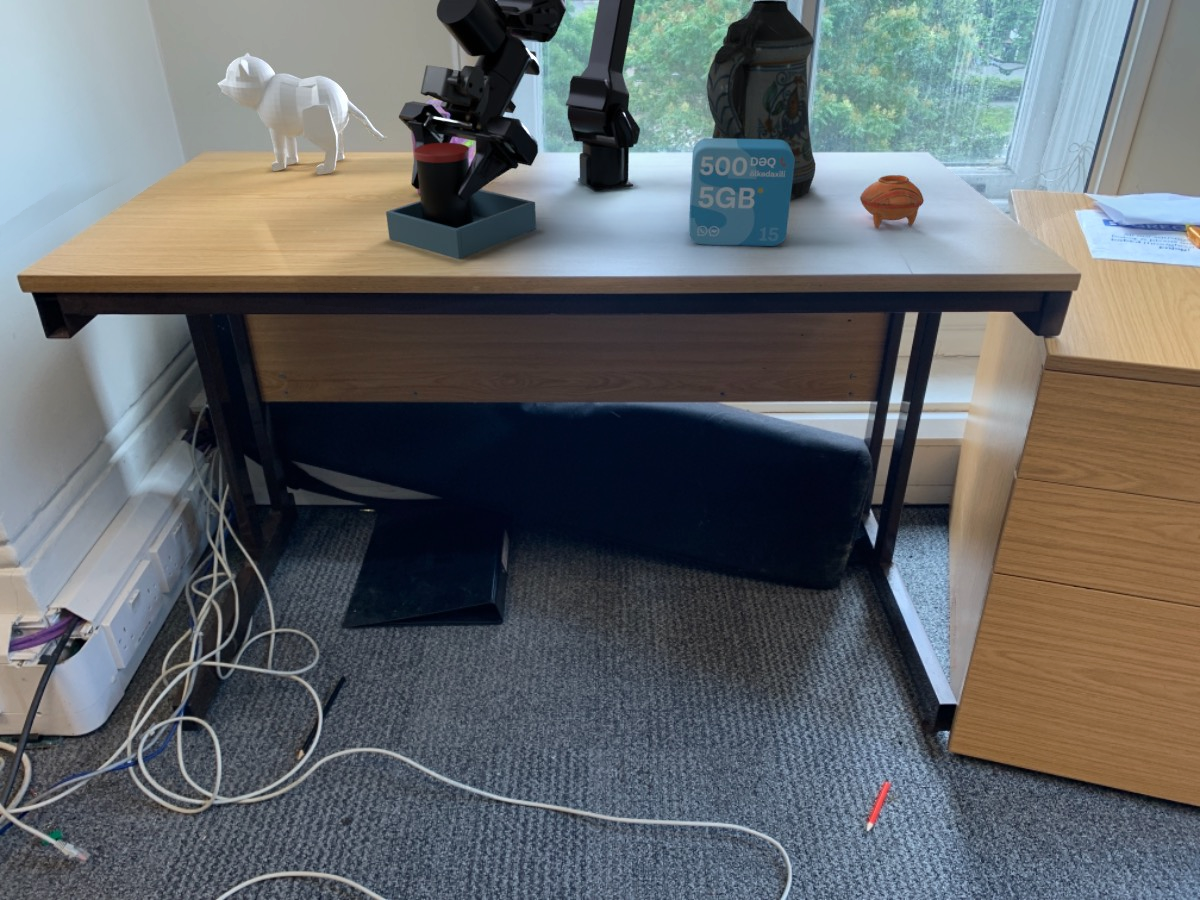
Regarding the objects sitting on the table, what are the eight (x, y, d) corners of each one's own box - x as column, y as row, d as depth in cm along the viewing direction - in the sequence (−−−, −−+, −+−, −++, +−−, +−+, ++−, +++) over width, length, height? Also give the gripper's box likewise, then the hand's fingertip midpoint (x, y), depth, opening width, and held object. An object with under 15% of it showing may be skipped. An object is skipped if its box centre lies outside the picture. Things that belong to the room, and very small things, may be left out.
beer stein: (816, 176, 137) (839, -3, 124) (806, 213, 122) (831, 12, 108) (711, 169, 141) (722, -6, 128) (688, 203, 125) (698, 8, 112)
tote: (468, 215, 121) (466, 185, 119) (536, 232, 115) (535, 201, 113) (389, 242, 111) (385, 211, 109) (459, 263, 105) (456, 230, 103)
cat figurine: (395, 156, 148) (382, 48, 139) (389, 173, 139) (374, 58, 130) (241, 160, 146) (218, 50, 137) (225, 177, 137) (199, 61, 128)
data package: (688, 244, 111) (693, 146, 104) (688, 233, 115) (693, 137, 108) (785, 247, 110) (796, 148, 104) (781, 235, 114) (792, 139, 107)
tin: (466, 228, 115) (459, 140, 109) (483, 243, 110) (476, 152, 104) (417, 234, 112) (407, 145, 107) (432, 250, 107) (422, 158, 102)
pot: (907, 236, 113) (904, 182, 110) (852, 236, 118) (847, 185, 115) (935, 219, 118) (933, 167, 115) (880, 221, 123) (877, 171, 120)
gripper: (400, 30, 106) (342, 142, 105) (517, 43, 97) (455, 166, 95) (453, 90, 116) (399, 193, 114) (564, 107, 106) (507, 220, 105)
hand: (437, 192), depth 107 cm, fingers open, 8 cm apart
